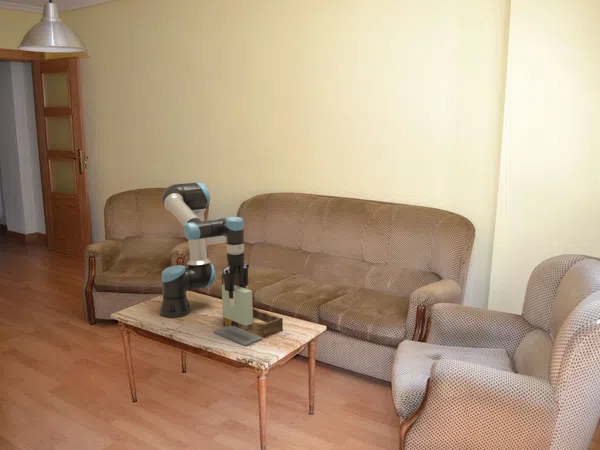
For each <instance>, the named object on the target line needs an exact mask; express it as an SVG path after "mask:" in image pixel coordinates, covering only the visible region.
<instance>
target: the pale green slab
mask: <svg viewBox="0 0 600 450" xmlns="http://www.w3.org/2000/svg"><path fill="white" fill-rule="evenodd" d="M234 291H235V305H236V306H233V305H230V298H229V291H226V290H225V285H222V284H221V304H222V305H221V306H222V307H221V308H222V318H223V317H225V318H227V319H230V320H232V321H235V322H237V323H240V324H243V325H245V326H247V325H250V324H252V323H253V308H254V307H253V290H252V289H249V288H248V289H245V288H242V287H239V286H236V285H234Z"/></svg>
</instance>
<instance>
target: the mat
mask: <svg viewBox="0 0 600 450" xmlns="http://www.w3.org/2000/svg"><path fill="white" fill-rule="evenodd" d="M213 333H214V334H216V335H218V336H220V337H223V338H225V339H227V340H229V341H232V342H234V343H236V344H238V345H240V346H243V347H248V346H250V345H252V344H255V343H257V342H260V341H262V340H263V337H262V336H260V335H257V334H255V333H252V332H250V331H247V330H245V329H242V328H240V327H238V326H237V327H236V326H232V325H229V326H224V327H222V328H219V329H216V330H213Z"/></svg>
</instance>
